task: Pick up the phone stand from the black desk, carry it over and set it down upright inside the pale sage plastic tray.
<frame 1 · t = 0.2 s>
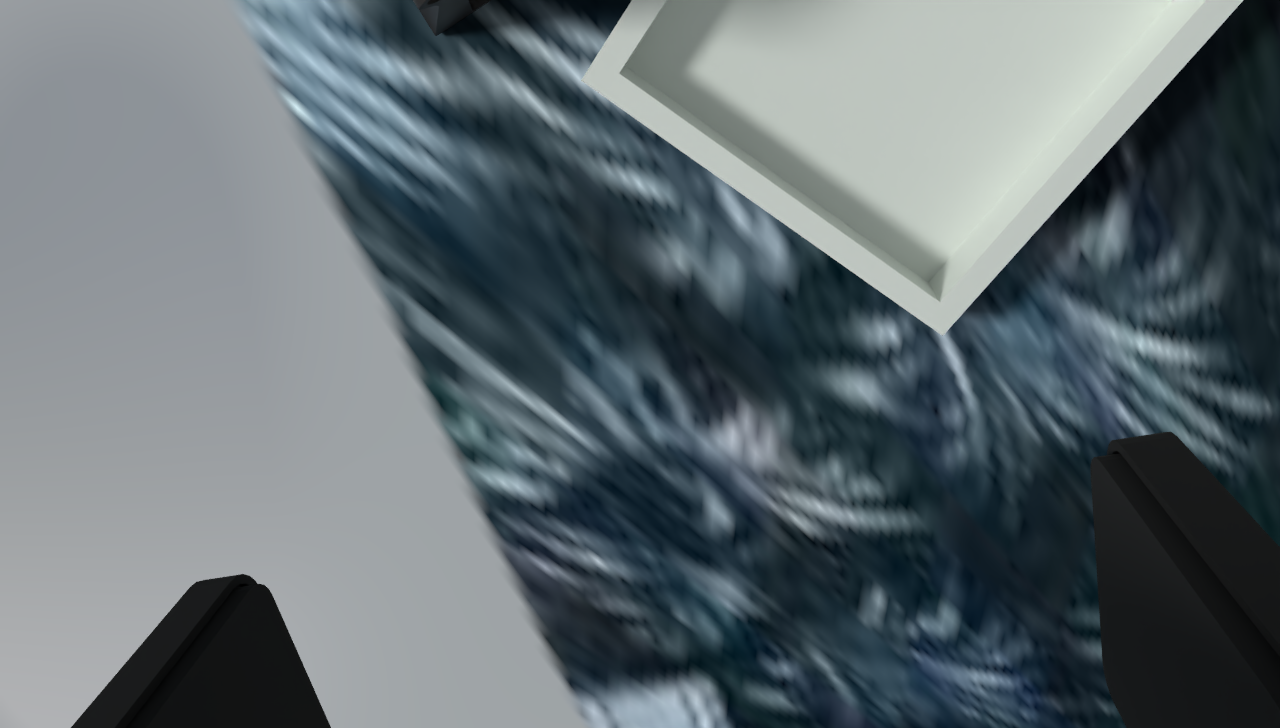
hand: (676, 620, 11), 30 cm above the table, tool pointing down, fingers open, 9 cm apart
tray: (894, 22, 36), on the table
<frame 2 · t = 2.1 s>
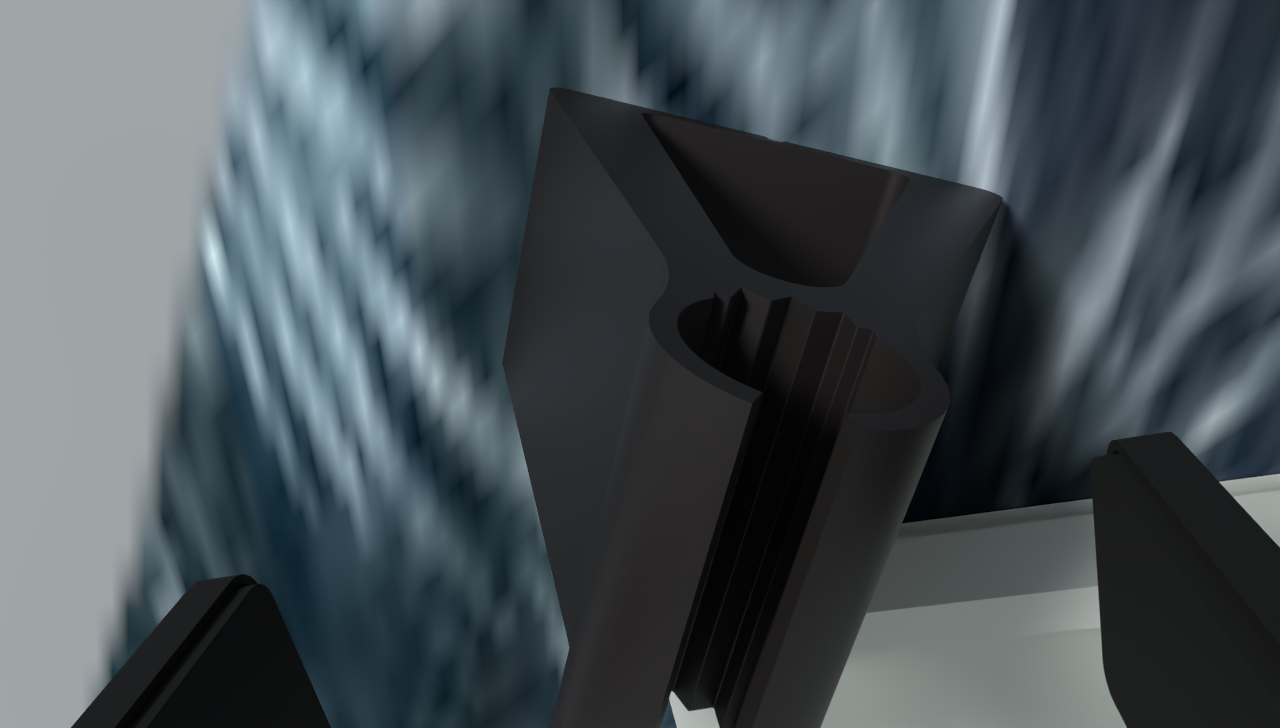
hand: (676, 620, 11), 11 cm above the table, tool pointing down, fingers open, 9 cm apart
phone stand: (737, 275, 20), on the table
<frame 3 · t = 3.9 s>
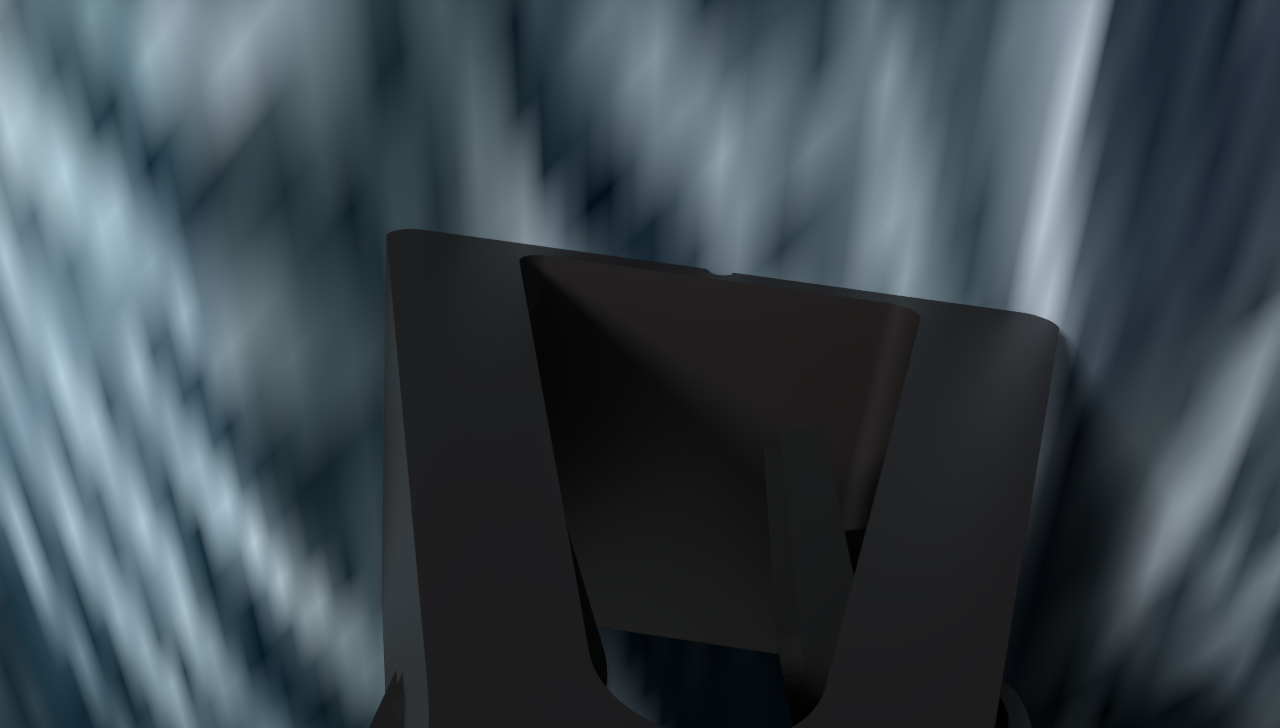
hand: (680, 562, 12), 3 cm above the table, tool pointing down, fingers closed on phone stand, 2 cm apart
phone stand: (690, 454, 15), on the table, touching gripper
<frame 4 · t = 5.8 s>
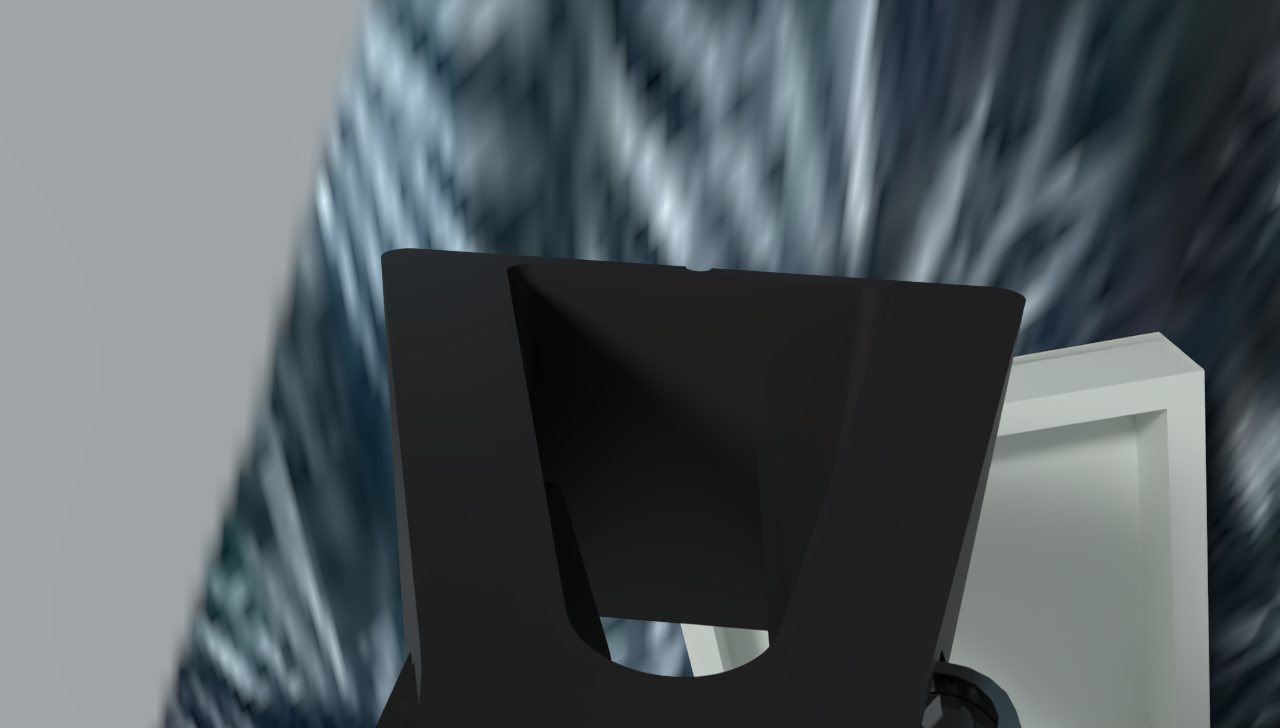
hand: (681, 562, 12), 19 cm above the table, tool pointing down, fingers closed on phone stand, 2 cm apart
phone stand: (685, 445, 15), point 15 cm above the table, touching gripper
tray: (924, 598, 34), on the table
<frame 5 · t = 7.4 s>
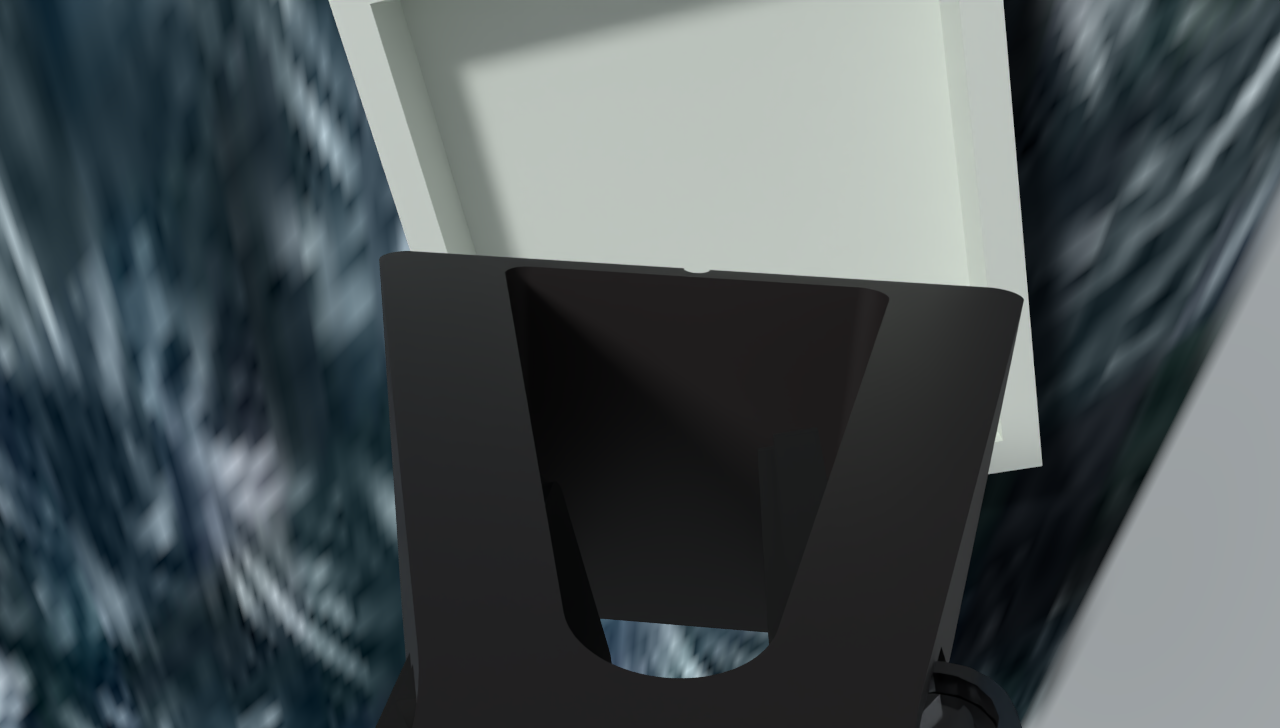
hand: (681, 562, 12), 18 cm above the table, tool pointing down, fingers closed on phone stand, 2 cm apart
phone stand: (684, 446, 15), point 15 cm above the table, touching gripper
tray: (708, 208, 28), on the table
when the fingers open (4 cm above the table, at t = 10.3 s): phone stand stays where it is, resting on tray.
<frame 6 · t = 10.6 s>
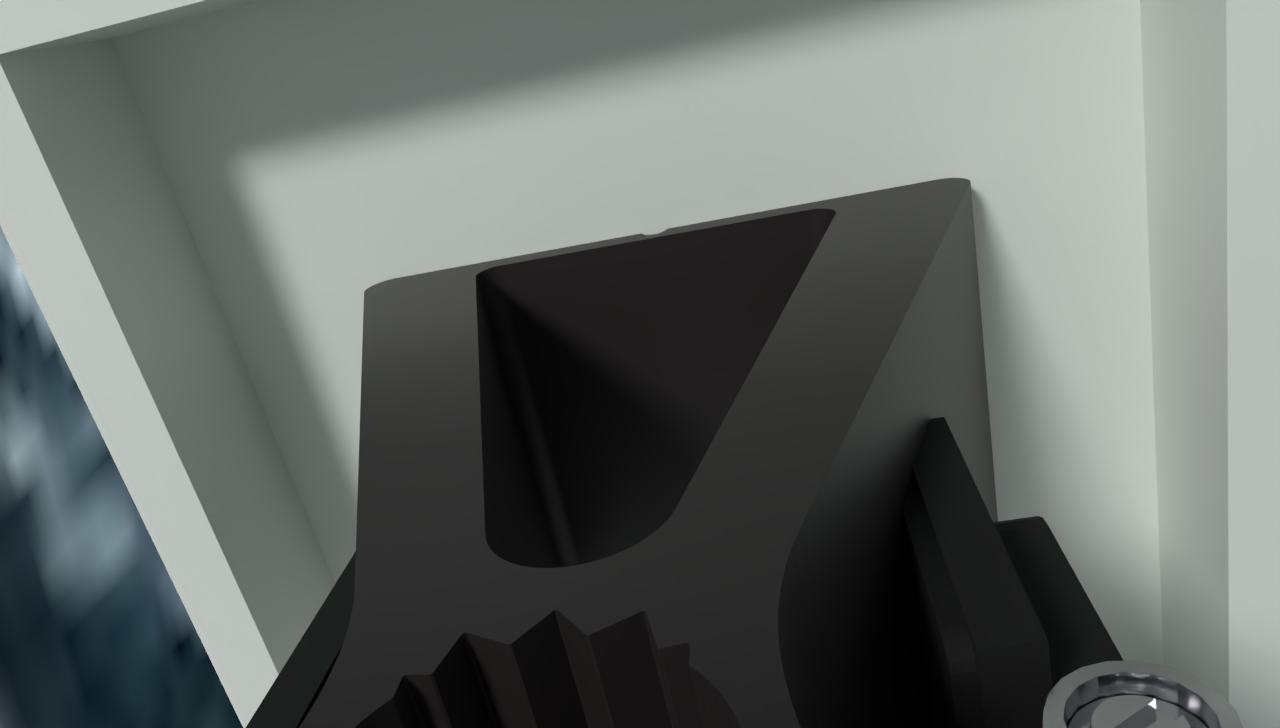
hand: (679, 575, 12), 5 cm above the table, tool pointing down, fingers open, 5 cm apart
phone stand: (691, 403, 16), resting on tray
tray: (693, 401, 16), on the table
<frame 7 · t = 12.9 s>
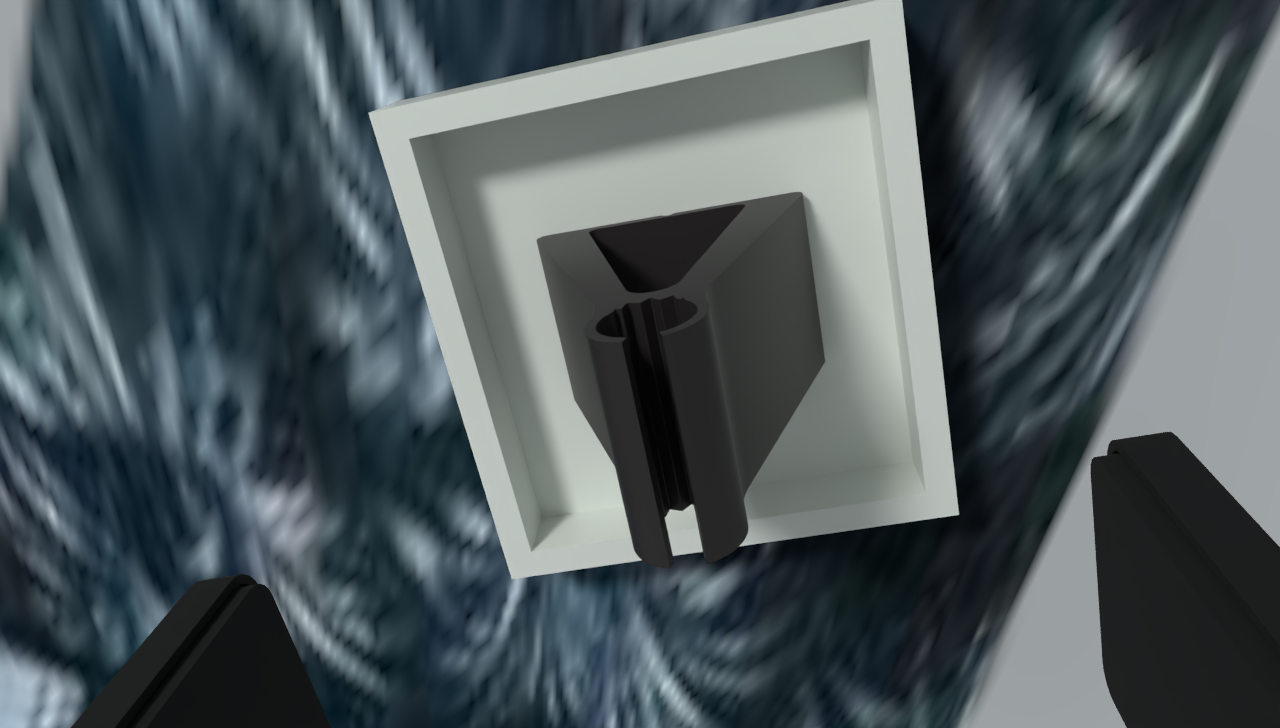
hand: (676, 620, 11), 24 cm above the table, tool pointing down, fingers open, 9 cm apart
phone stand: (683, 295, 34), resting on tray
tray: (683, 296, 34), on the table
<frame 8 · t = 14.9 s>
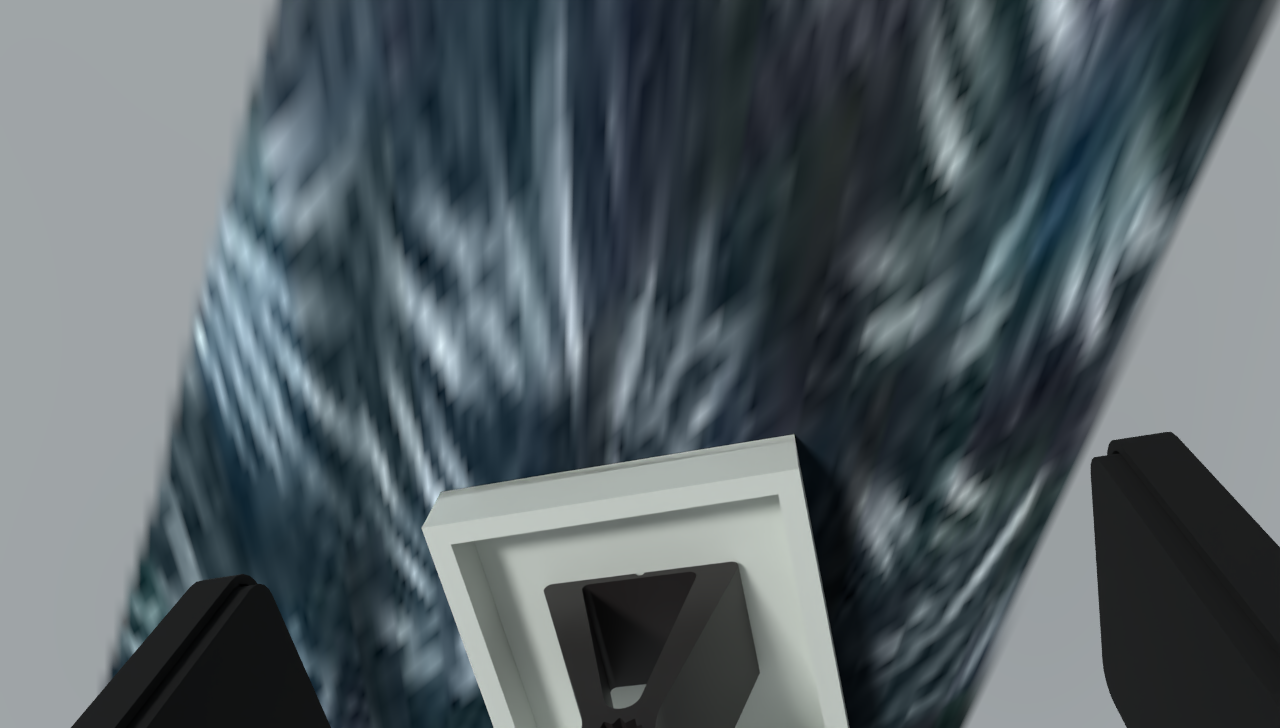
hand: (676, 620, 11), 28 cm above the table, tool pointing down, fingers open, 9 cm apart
phone stand: (653, 623, 45), resting on tray
tray: (654, 620, 46), on the table
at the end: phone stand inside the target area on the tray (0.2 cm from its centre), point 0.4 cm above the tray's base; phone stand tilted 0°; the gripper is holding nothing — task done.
